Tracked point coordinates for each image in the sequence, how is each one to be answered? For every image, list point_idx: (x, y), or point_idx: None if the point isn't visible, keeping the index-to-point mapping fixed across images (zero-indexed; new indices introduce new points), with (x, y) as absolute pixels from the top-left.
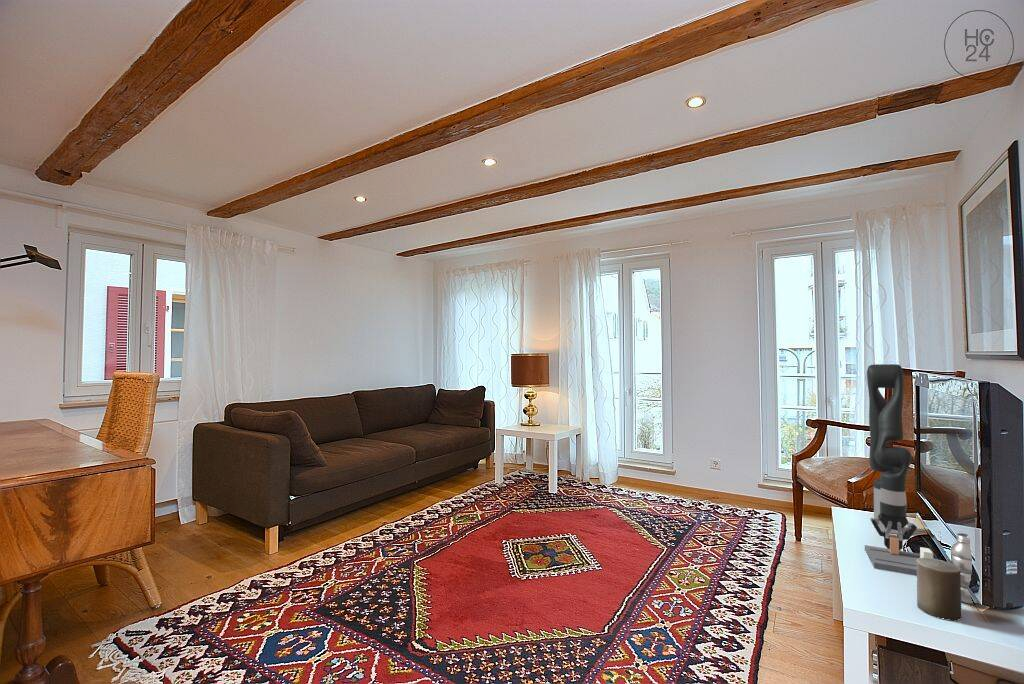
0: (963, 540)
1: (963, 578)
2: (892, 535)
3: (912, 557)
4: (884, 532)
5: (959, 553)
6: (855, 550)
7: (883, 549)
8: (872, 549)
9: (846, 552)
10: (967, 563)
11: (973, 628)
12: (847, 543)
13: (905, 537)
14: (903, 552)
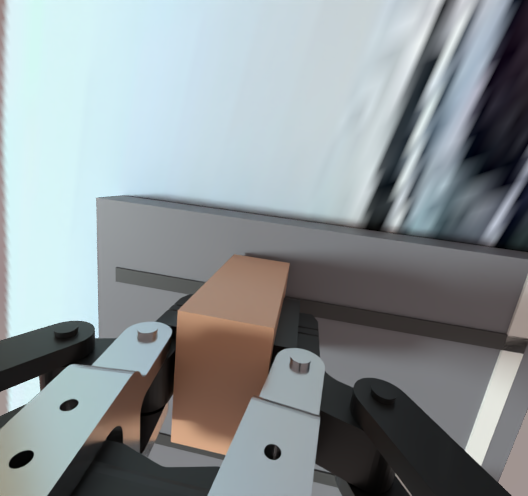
0: None
1: None
2: (221, 356)
3: (367, 347)
4: (113, 363)
5: None
6: (70, 218)
7: (208, 247)
8: (130, 279)
9: (21, 271)
10: None
11: None
12: (37, 92)
13: (341, 481)
14: (343, 263)
